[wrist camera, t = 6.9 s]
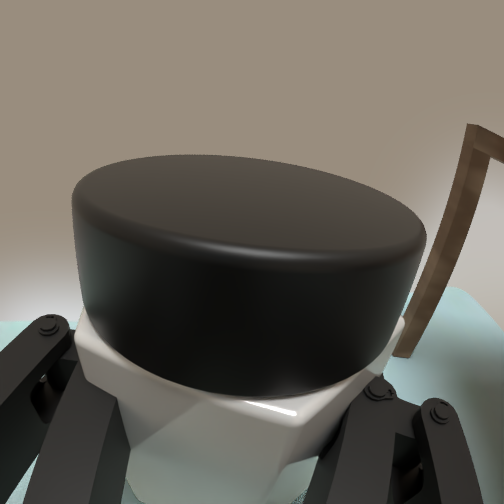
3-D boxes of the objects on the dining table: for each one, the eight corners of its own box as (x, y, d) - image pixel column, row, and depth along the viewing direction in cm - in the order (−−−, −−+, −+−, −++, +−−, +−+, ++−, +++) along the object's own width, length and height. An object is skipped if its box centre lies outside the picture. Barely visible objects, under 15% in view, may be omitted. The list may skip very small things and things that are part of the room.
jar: (328, 416, 15) (409, 190, 10) (295, 555, 8) (516, 320, 3) (172, 370, 17) (174, 146, 12) (92, 477, 10) (-13, 192, 5)
